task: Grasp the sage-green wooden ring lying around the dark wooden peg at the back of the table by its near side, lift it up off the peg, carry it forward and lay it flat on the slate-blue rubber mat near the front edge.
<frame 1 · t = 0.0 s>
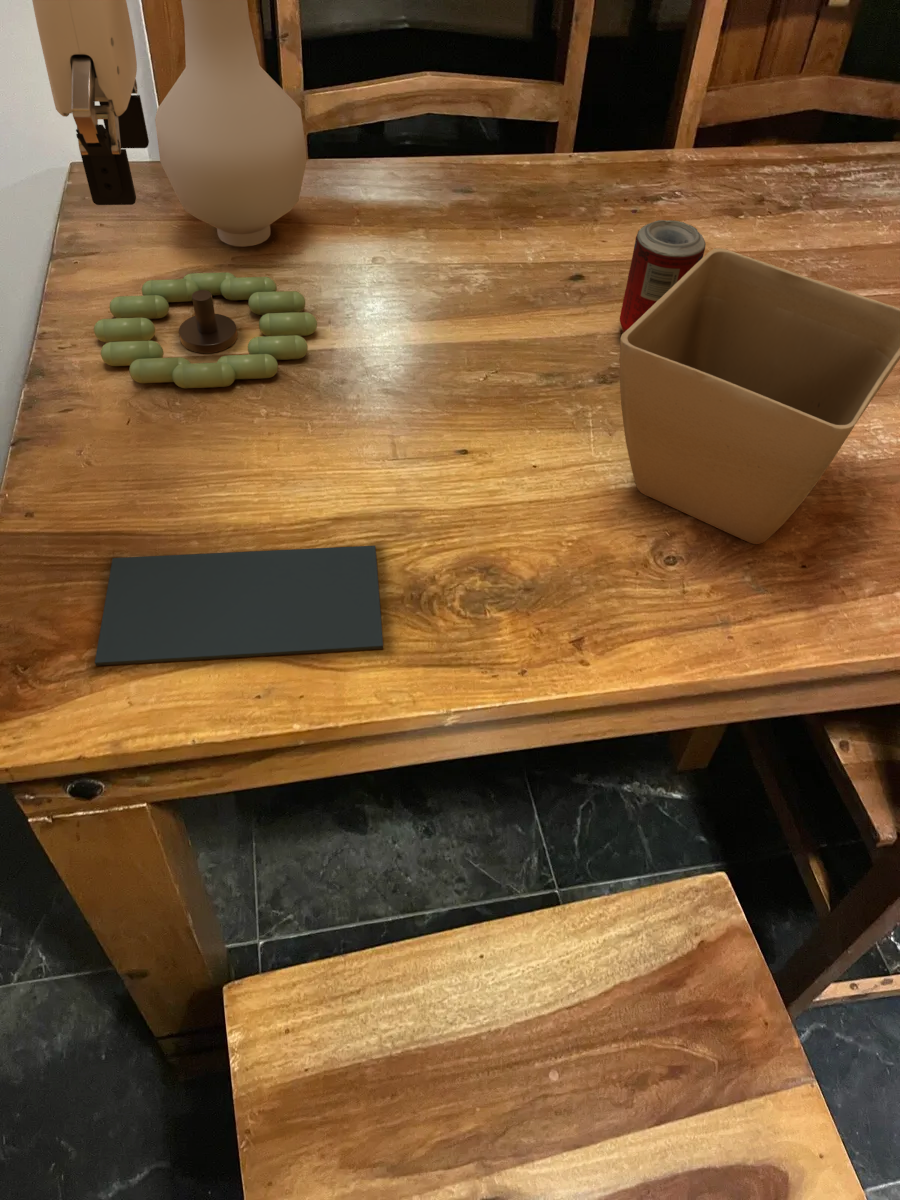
hand: (122, 173, 75), 23 cm above the table, tool pointing down, fingers open, 9 cm apart
ring: (207, 327, 99), point 1 cm above the table
ring stand: (209, 337, 100), on the table
soda can: (647, 338, 104), on the table
flower pot: (720, 483, 88), on the table
vase: (244, 234, 115), on the table
mat: (244, 603, 76), on the table
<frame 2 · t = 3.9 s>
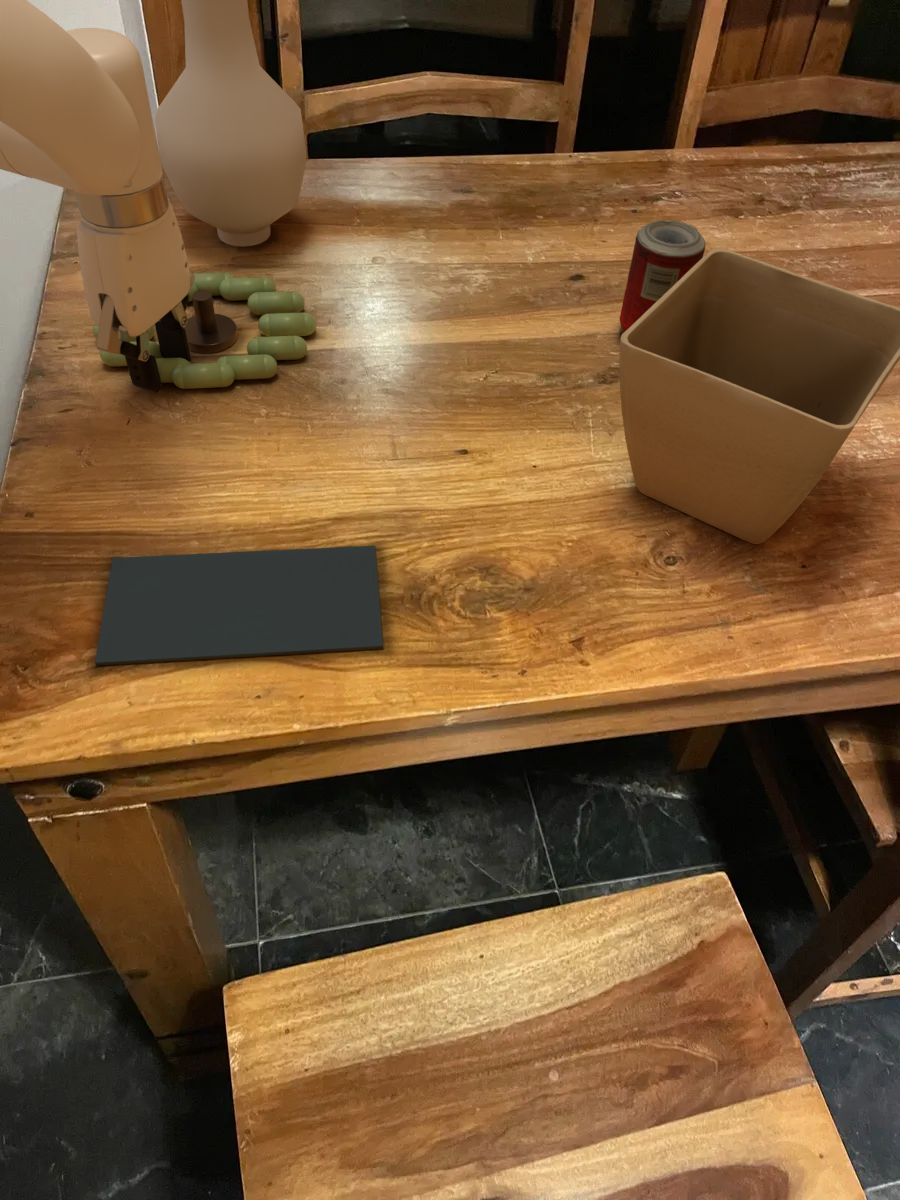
hand: (162, 372, 94), 1 cm above the table, tool pointing down, fingers closed on ring, 4 cm apart
ring: (206, 327, 99), point 1 cm above the table, touching gripper
everything else where it was.
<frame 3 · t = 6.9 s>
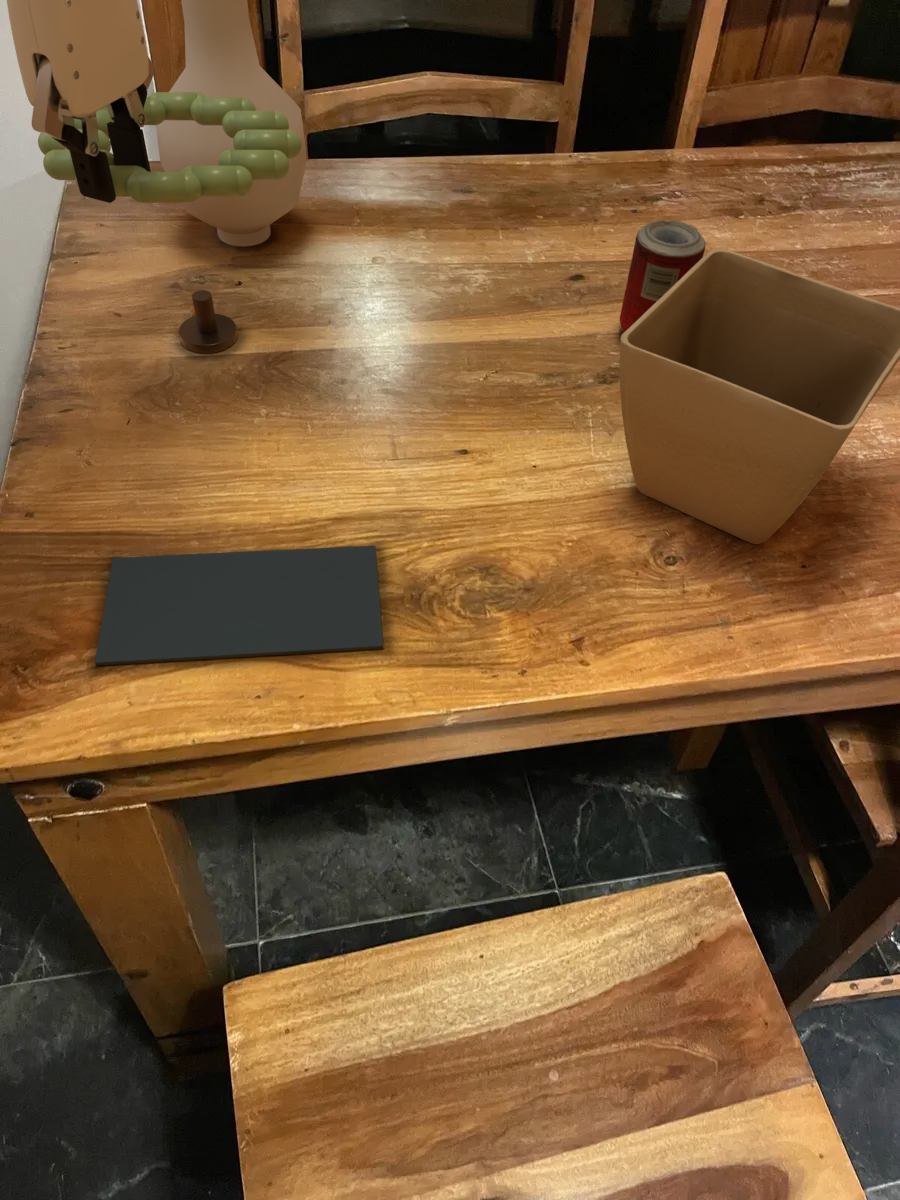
hand: (116, 183, 79), 20 cm above the table, tool pointing down, fingers closed on ring, 4 cm apart
ring: (172, 144, 84), point 20 cm above the table, touching gripper
everything else where it was.
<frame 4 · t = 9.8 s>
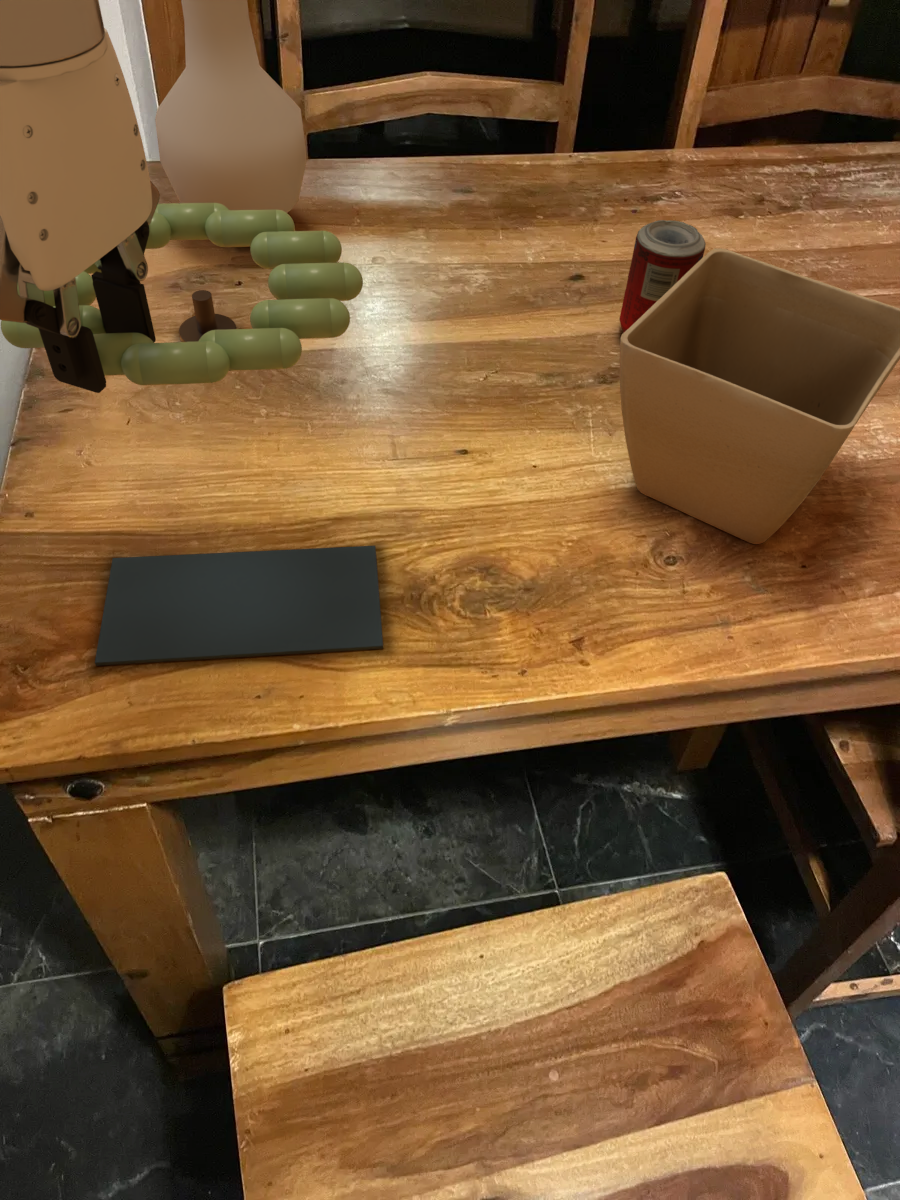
hand: (106, 358, 55), 25 cm above the table, tool pointing down, fingers closed on ring, 4 cm apart
ring: (183, 286, 60), point 25 cm above the table, touching gripper
everything else where it was.
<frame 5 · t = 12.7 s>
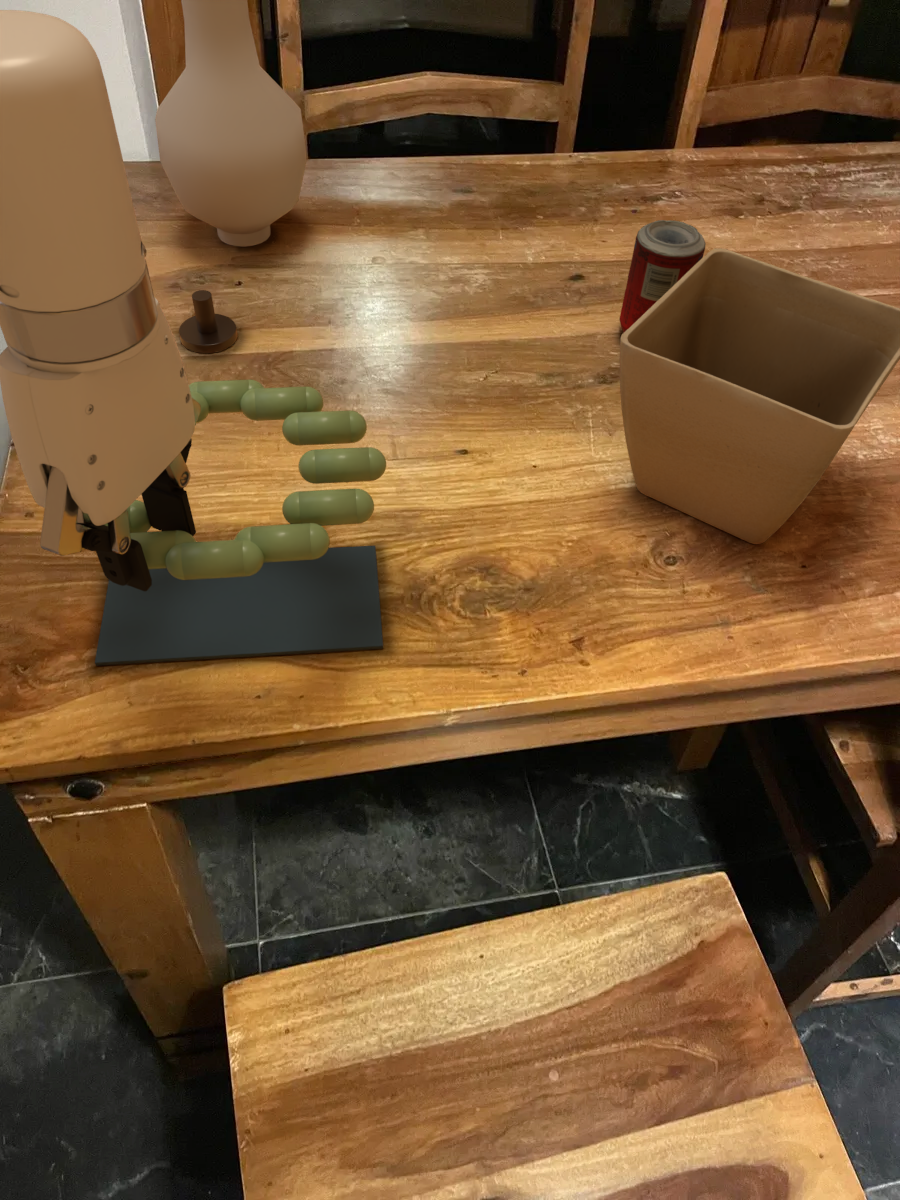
hand: (151, 553, 60), 14 cm above the table, tool pointing down, fingers closed on ring, 4 cm apart
ring: (220, 471, 65), point 14 cm above the table, touching gripper
everything else where it was.
when the fingers open (1 cm above the table, at t = 15.6 s): ring stays where it is, resting on mat.
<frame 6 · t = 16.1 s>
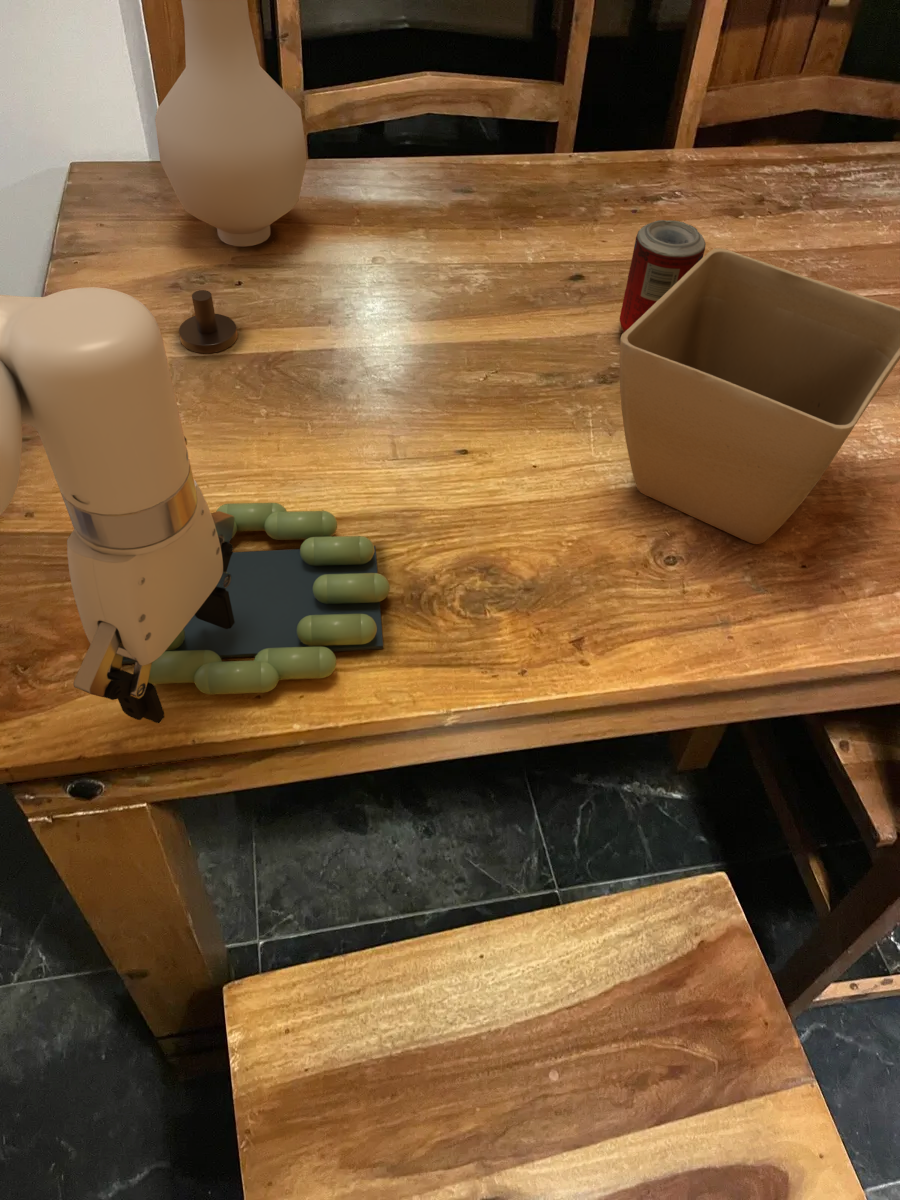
hand: (181, 665, 69), 2 cm above the table, tool pointing down, fingers open, 8 cm apart
ring: (244, 591, 75), point 2 cm above the table, touching mat
everything else where it was.
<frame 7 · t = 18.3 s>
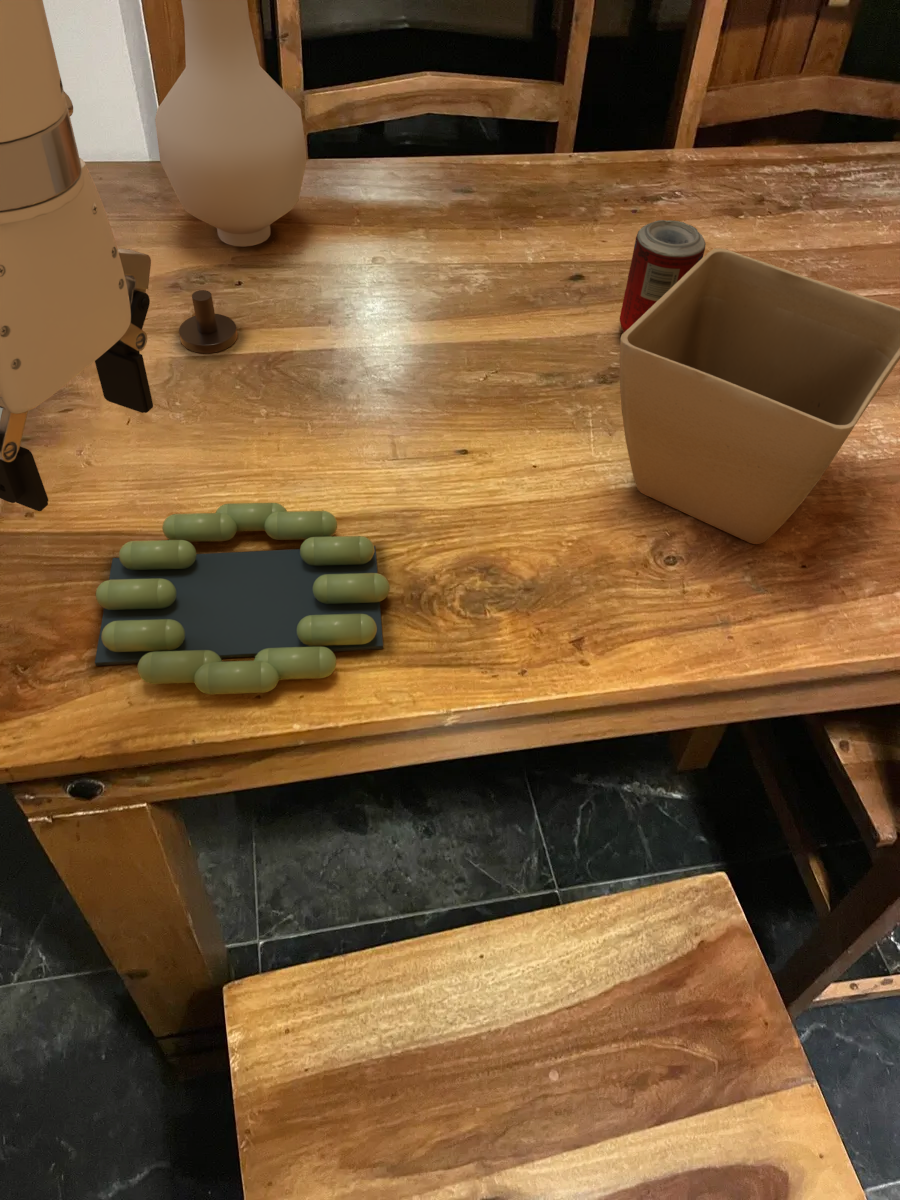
hand: (79, 450, 55), 22 cm above the table, tool pointing down, fingers open, 9 cm apart
nothing on the table moved.
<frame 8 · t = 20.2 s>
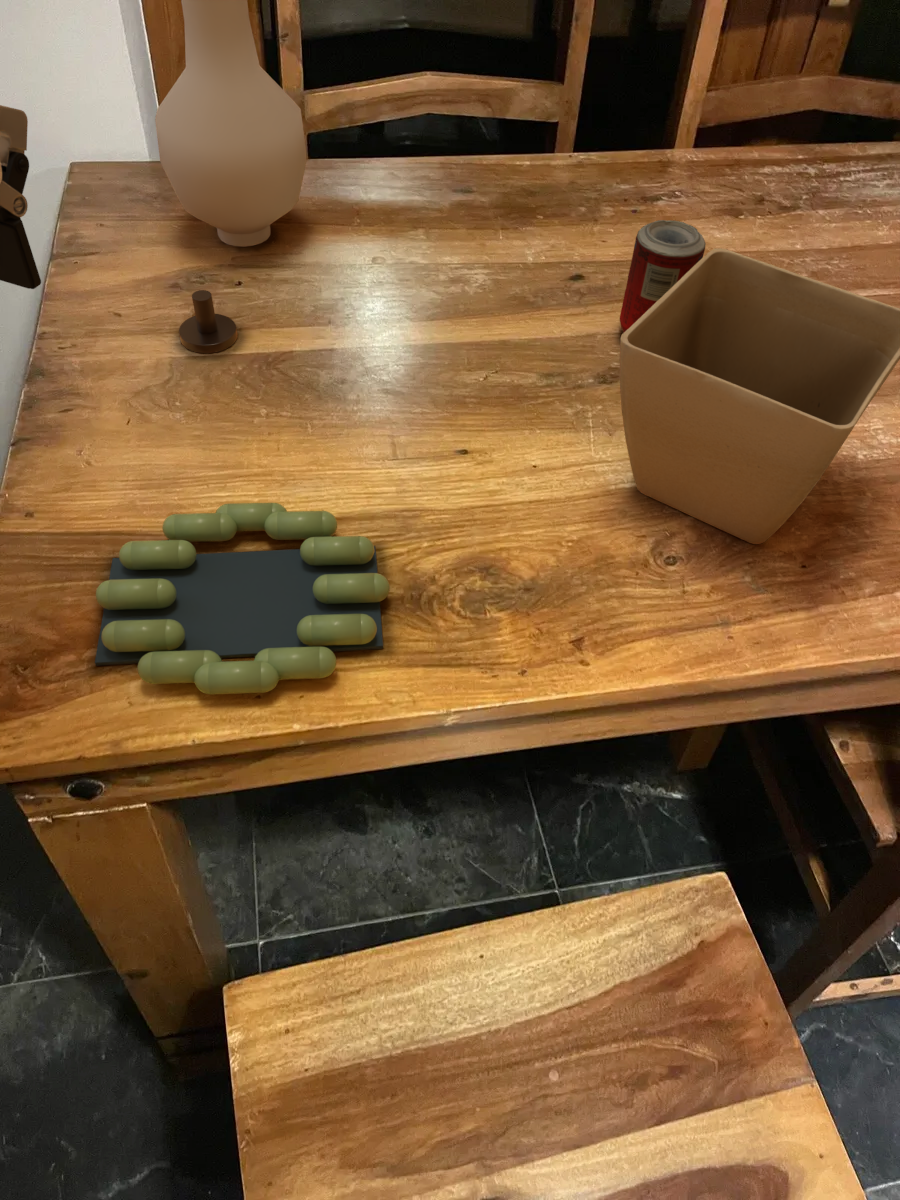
nothing on the table moved.
at the end: ring inside the target area on the mat (0.2 cm from its centre), point 1.6 cm above the mat's base; ring touching mat; ring tilted 0° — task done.
